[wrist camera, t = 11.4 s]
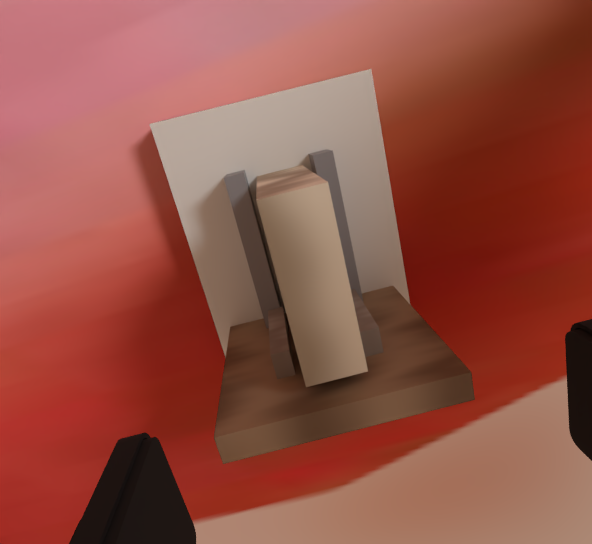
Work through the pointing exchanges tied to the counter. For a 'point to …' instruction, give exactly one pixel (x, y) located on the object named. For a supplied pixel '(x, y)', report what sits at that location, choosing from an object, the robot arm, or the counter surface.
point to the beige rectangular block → (311, 273)
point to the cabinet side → (338, 393)
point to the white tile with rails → (270, 158)
